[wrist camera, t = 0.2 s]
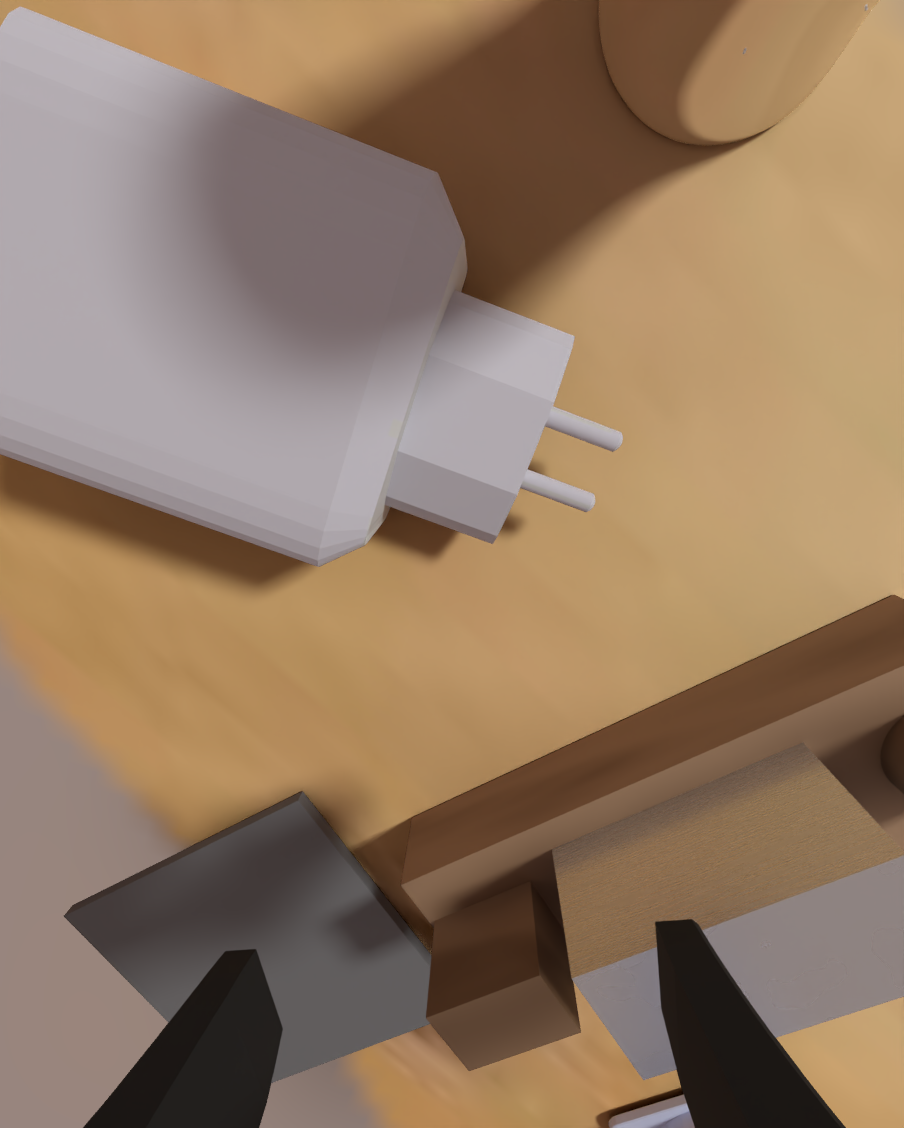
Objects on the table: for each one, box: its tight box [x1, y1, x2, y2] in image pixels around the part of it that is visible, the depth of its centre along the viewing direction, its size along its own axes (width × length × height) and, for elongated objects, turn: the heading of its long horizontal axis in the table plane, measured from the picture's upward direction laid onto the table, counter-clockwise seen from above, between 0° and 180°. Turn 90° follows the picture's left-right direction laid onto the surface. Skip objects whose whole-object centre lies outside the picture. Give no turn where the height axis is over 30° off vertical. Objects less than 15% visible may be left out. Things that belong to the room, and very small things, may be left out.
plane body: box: [401, 595, 904, 1071], centre depth 17 cm, size 6×18×6 cm, turn 121°
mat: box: [64, 791, 431, 1083], centre depth 23 cm, size 12×12×1 cm
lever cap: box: [552, 743, 904, 1080], centre depth 15 cm, size 4×8×4 cm, turn 121°
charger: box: [0, 7, 623, 567], centre depth 14 cm, size 5×9×15 cm
